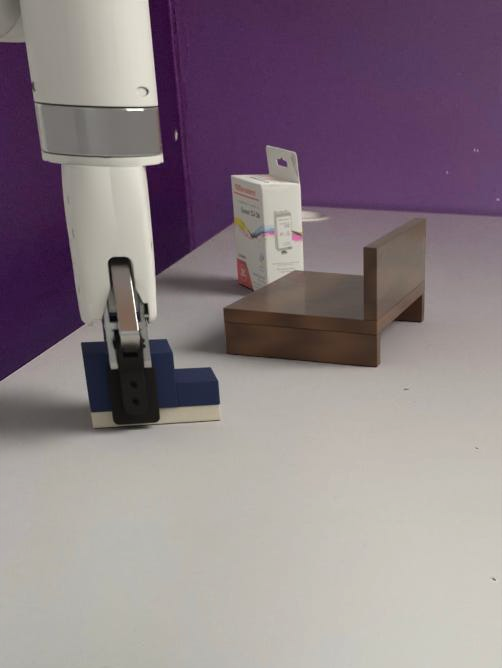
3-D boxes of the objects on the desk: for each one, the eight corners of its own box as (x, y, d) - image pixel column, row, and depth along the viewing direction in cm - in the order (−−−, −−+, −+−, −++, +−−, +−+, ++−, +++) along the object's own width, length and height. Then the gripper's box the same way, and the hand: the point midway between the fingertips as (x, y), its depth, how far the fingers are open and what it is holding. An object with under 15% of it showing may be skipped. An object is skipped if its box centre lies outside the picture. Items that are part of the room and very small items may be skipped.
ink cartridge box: (235, 283, 121) (225, 144, 114) (274, 280, 123) (268, 144, 116) (266, 297, 115) (258, 151, 108) (306, 294, 117) (301, 151, 110)
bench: (226, 353, 93) (217, 235, 89) (296, 309, 111) (292, 208, 106) (377, 367, 92) (376, 248, 87) (424, 319, 109) (426, 218, 104)
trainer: (93, 429, 74) (82, 355, 71) (90, 412, 77) (80, 341, 74) (221, 421, 77) (216, 350, 74) (214, 405, 80) (208, 337, 77)
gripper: (38, 125, 73) (75, 384, 82) (40, 146, 59) (85, 454, 68) (149, 128, 75) (174, 379, 84) (175, 149, 62) (201, 445, 71)
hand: (134, 410), depth 76 cm, fingers closed on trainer, 4 cm apart
